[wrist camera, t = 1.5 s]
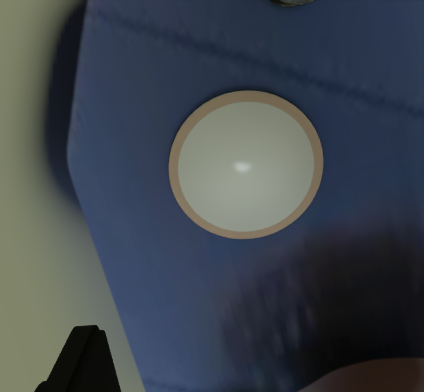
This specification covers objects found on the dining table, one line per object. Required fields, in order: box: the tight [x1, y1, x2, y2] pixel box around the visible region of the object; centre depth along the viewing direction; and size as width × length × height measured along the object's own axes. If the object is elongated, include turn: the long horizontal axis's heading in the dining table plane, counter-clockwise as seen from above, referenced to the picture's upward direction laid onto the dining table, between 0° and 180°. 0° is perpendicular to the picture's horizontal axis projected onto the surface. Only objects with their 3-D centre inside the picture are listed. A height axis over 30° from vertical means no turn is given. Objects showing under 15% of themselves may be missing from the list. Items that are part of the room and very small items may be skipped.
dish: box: [169, 90, 323, 239], centre depth 34 cm, size 15×15×2 cm
